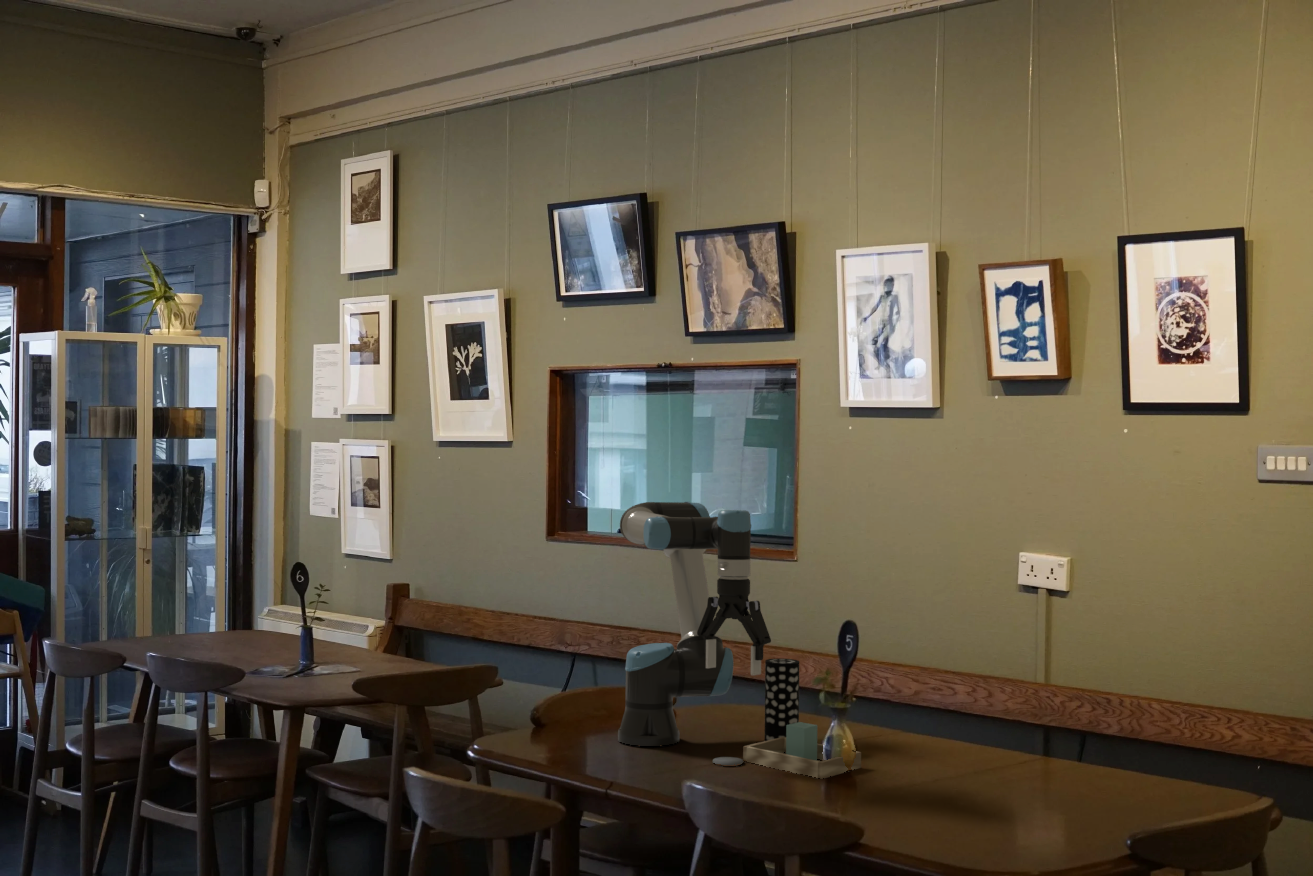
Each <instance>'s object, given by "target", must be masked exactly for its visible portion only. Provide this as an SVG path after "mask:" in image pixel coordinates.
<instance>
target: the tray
mask: <svg viewBox="0 0 1313 876" xmlns="http://www.w3.org/2000/svg"><path fill="white" fill-rule="evenodd" d="M823 745H824V744H822V743H818V742H817V759H820V760H822V759H823V754H822V752H823ZM742 749H743V750H742V751H743V752H742V760H746V761H747V762H751V763H755V764H759V765H758V766H760V765H763V766H762V767H764V766H766V768H769V767H771V768H770V769H773V768H775V769H774V770H778V769H779V771H782V770H785V771H784V772H787V771H790V772H789V773H791V772H792V773H791V774H796V773H797V774H796V775H800V774H803V775H802V776H805V775H808V776H807V777H809V776H812V777H811V778H814V777H816V778H815V779H818V778H820V779H819V780H823V778H824V779H827V778H831V777H834V776H837V775H841V774H844V772H845V773H847V772H846V771H847V770H848V768H847V767H846V766H845V763H844V762H843V757H835V758H831V759H828V760H824V761H820V760H817V761H816V760H811V759H807V758H802V757H797V756H792V755H788V754H786V737H780V738H776V739H772V740H768V741H765V740H764V741H759V742H757V743H756V742H755V743H751V744H747V745H744V746H743V747H742ZM855 751H856V750H855ZM784 752H785V753H784ZM751 763H750V764H751ZM755 764H754V765H755ZM861 768H862V751H858V750H857V751H856V758H855V759H854V763H853V765H852V767H851V769H852V771H855V770H858V769H861ZM854 769H855V770H854ZM830 776H831V777H830Z"/></svg>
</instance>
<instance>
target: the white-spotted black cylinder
mask: <svg viewBox="0 0 1313 876" xmlns="http://www.w3.org/2000/svg"><path fill="white" fill-rule="evenodd" d="M764 663H765V665H764V667H765V668H764V670H765V671H764V676H765V677H764V741H768V740H772V739H776V738H780V737H786V725H789V724H793V723H797V722H800V661H799V660H797V659H793V658H778V657H777V658H769V659H767V658H766V659H765V661H764Z"/></svg>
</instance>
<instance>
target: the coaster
mask: <svg viewBox="0 0 1313 876" xmlns="http://www.w3.org/2000/svg"><path fill="white" fill-rule="evenodd" d="M743 762H744V761H743V758H739V757H733V756H720V757H715V758H713V759H712V764H713V763H715V764H721V765H734V764H735V765H737V764H742V763H743ZM744 763H745V762H744Z"/></svg>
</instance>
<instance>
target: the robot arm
mask: <svg viewBox="0 0 1313 876" xmlns="http://www.w3.org/2000/svg"><path fill="white" fill-rule="evenodd" d="M619 528H620V529H619V530H620V532H621V535H622V536H623V538H625V540H627V541H628V542H630V543H632V544H637V545H639V546H645V547H646V548H647V549H650V550H659V551H662V552H663V554H664V556H665V557H667V558H669V559H670V565H671V572H672V579H673V586H674V593H675V601H676V608H677V609H676V610H677V615H678V623H679V624H678V625H679V630H680V637H681V638H680V640H679V641H678V642H677V644H676V648H675V647H674V644H672V643H669V642H660V643H659V642H655V643H647V644H646V643H645V644H642V645H638V646H635V647H632V648H631V649H630V650H628V651H627V653H626V660H625V668H624V670H625V705H624V706H625V708H624V712H623V715H622V718H621V723H620V727H619V728H618V731H617V741H618V742H619V743H620V742H622V743H621V744H623V743H625V744H624V745H626V744H630V745H629V746H631V745H640V746H660V745H669V744H673V745H675V744H674V743H676V744H678V743H679V742H680V729H679V728H678V725H677V721H676V716H675V713H674V707H673V705H674V704H673V703H674V702H673V701H674V698H680V697H681V698H685V697H687V698H688V697H689V698H690V697H691V698H692V697H708V698H711V697H712V696H715V697H717V696H722V695H723V696H724V695H725V694H727V692H728V691H729V689H730V687H731V684H732V680H733V674H734V655H733V652H732V649H731V648H730V647H727V646H726V647H724V645H723V639H722V637H720V636H719V635H717V633H718V632H719V630H720V628H721V627H722V625H723V624H724V623H725V622H726V620H727V619H732V620H738V622H740V624H741V625H742V626H743V628H744V630H745V633H747V635H748V637H749V638H750V640H751V642H752V643H753V644H752V645H750V676H760V675H761V674H762V660H764V646H765V645H767V644H771V642H772V639H771V636H770V633H769V629H768V627H767V625H766V622H765V619H764V617H763V613H762V610H761V602H760V601H759V600H752V601H751V600H749V595H750V594H751V579H749V578H748V577H750V576H751V543H752V542H751V541H752V540H751V535H752V534H751V531H752V522H751V513H750V512H749V511H748V510H745V509H721V510H719V511H718V515H717V516H710V512H709V510H708V509H707V507H705V505H704V504H702V503H700V502H690V501H683V502H678V501H677V502H675V501H674V502H669V501H668V502H667V501H666V502H665V501H661V502H659V501H647V502H641V503H637V504H634V505H632V506H631V507H629V508H627V509H626V510H625V511H624V513H623V514H622V515H621V517H620V522H619ZM707 550H717V576H718V577H719V578H718V579H716V582H717V583H716V593H717V594H718V595H719V596H710V593H709V588H708V587H709V586H708V581H707V574H706V573H707V572H706V568H705V567H706V566H705V561H704V553H705V552H706V551H707ZM718 607H719V609H718ZM677 742H678V743H677ZM640 746H639V747H640ZM669 746H670V745H669ZM660 747H661V746H660Z"/></svg>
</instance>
